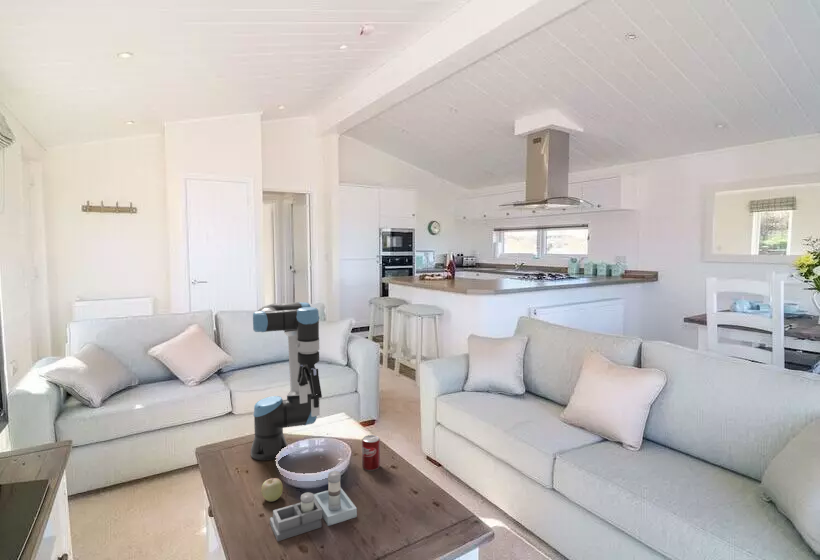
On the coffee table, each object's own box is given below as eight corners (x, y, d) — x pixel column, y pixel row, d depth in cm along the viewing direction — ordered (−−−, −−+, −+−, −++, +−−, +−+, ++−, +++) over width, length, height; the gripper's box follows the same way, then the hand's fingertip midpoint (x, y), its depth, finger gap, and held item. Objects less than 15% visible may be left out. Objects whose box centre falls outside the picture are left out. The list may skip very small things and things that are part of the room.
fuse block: (269, 523, 147) (269, 497, 146) (313, 510, 154) (313, 485, 153) (277, 541, 138) (276, 514, 138) (323, 526, 146) (323, 500, 145)
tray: (313, 502, 159) (313, 494, 159) (340, 494, 164) (340, 486, 163) (328, 526, 146) (327, 517, 146) (356, 516, 151) (356, 508, 151)
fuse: (326, 506, 156) (326, 472, 154) (338, 502, 158) (337, 469, 156) (330, 512, 152) (330, 478, 151) (342, 509, 154) (342, 475, 153)
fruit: (287, 497, 162) (287, 475, 161) (271, 507, 156) (270, 485, 155) (273, 490, 166) (272, 469, 165) (256, 500, 160) (256, 478, 159)
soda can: (373, 473, 178) (372, 444, 177) (358, 468, 182) (358, 439, 181) (383, 465, 185) (383, 437, 184) (369, 460, 188) (369, 433, 187)
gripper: (288, 344, 169) (289, 399, 172) (309, 361, 148) (310, 424, 150) (307, 342, 173) (308, 396, 175) (330, 358, 152) (331, 419, 154)
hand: (309, 409), depth 163 cm, fingers open, 13 cm apart
